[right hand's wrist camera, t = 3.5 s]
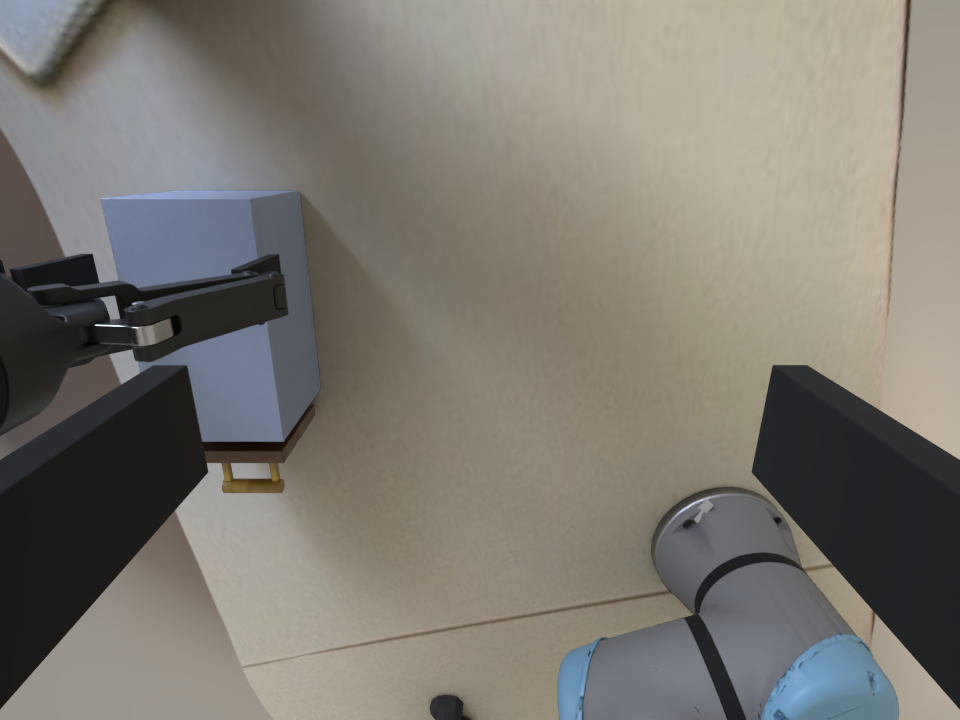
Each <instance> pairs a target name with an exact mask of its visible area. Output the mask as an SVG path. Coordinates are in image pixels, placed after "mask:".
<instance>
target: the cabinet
mask: <svg viewBox="0 0 960 720" xmlns="http://www.w3.org/2000/svg"><path fill="white" fill-rule="evenodd" d="M101 203H102V208H103V212H104V216H105V221H106V225H107V229H108V234H109V238H110V243H111V247H112V251H113V256H114V260H115V264H116V269H117V273H118V277H119V281H123V282H126V283H129V284H132V285H134V286H136V287H137V288H140V287H147V286H154V285H161V284H168V283H175V282H182V281H189V280H196V279H203V278H210V277H217V276H224V275H231V269H233V268H236V267H238V266H241V265H243V264H246V263H248V262H251V261H253V260H256V259H258V258H260V257H263V256H265V255H268V254H279V258H280V266H281V274H283V275H284V278H285V286H286V295H287V303H288V312H289V314H288V315H287V316H284V317H282V318H277V319H274V320H271V321H267V322H265V324H263V325H259V324H258V325H254V326H251V327H248V328H244V329H241V330H238V331H235V332H231V333H228V334H225V335H222V336H218V337H215V338H212V339H208V340H205V341H202V342H199V343H195V344H192V345H189V346H186V347H183V348H181V349H179V350H177V351H175V352H173V353H171V354H169V355H167V356H165V357H163V358H160V359H158V360H155V361H153V362H139V361H138V364H139V368H140V373H141V372H143V371H145V370H146V369H148V368H149V367H151V366H153V365H187V367H188V372H189V377H190V382H191V387H192V392H193V397H194V402H195V407H196V412H197V417H198V422H199V427H200V433H201V438H202V442H284V440H285V439H286V438H287V436H288V435H289V433H290V432H291V430H292V429H293V428H294V426H295V425H296V423H297V422H298V420H299V419H300V417H301V416H302V415H303V413H304V412H305V410H306V409H307V407H308V406H309V405H310V403H311V402H312V400H313V399H314V397H315V396H316V395H317V393H318V392H319V390H320V389H321V385H320V375H319V366H318V357H317V348H316V338H315V329H314V320H313V311H312V301H311V292H310V283H309V274H308V264H307V255H306V246H305V237H304V227H303V218H302V209H301V200H300V191H282V190H181V191H171V192H161V193H150V194H140V195H130V196H120V197H110V198H101Z"/></svg>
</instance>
